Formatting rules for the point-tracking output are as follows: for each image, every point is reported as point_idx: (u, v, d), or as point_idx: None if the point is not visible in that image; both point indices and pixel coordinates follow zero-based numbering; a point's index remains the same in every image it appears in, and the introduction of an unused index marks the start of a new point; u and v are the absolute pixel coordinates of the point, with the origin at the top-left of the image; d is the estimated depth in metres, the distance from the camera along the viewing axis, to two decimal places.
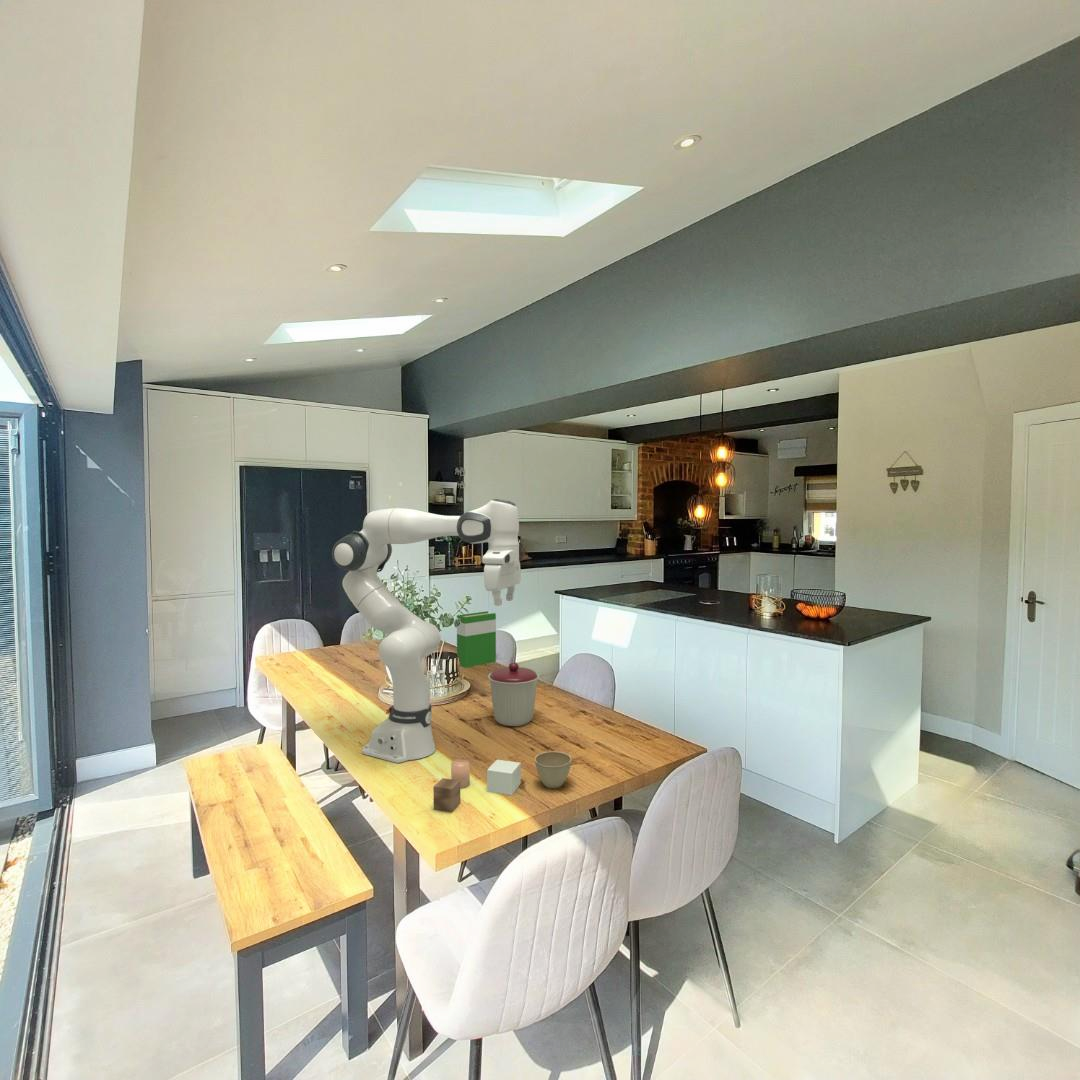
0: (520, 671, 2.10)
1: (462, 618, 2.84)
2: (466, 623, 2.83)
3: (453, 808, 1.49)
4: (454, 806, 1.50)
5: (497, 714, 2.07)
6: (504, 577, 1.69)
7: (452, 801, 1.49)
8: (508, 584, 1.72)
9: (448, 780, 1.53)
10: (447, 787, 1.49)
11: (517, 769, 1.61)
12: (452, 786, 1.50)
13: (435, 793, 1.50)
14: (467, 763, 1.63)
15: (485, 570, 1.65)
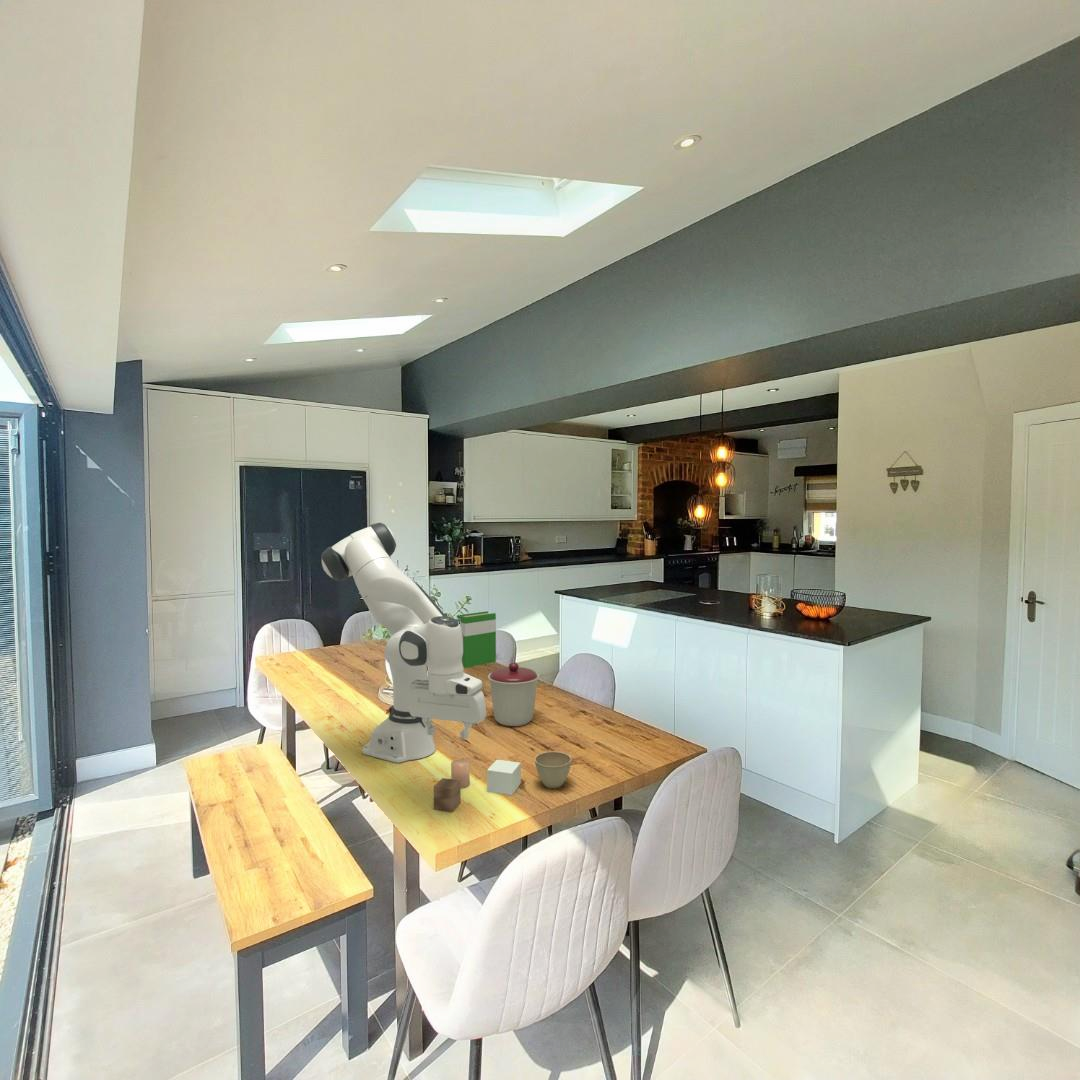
0: (520, 671, 2.10)
1: (462, 618, 2.84)
2: (466, 623, 2.83)
3: (453, 808, 1.49)
4: (454, 806, 1.50)
5: (497, 714, 2.07)
6: None
7: (452, 801, 1.49)
8: None
9: (448, 780, 1.53)
10: (447, 787, 1.49)
11: (517, 769, 1.61)
12: (452, 786, 1.50)
13: (435, 793, 1.50)
14: (467, 763, 1.63)
15: (477, 701, 1.46)
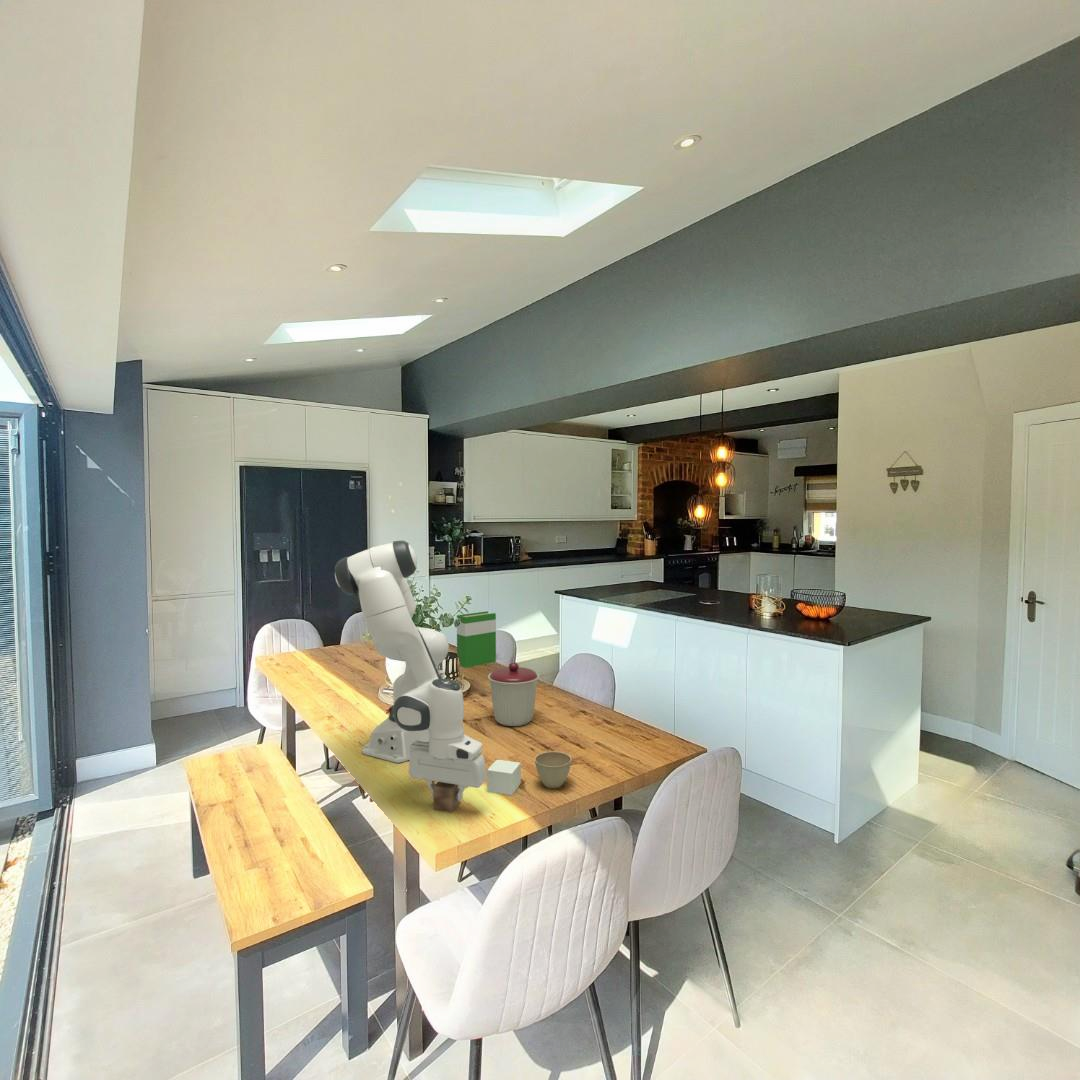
0: (520, 671, 2.10)
1: (462, 618, 2.84)
2: (466, 623, 2.83)
3: (453, 808, 1.49)
4: (454, 805, 1.50)
5: (497, 714, 2.07)
6: None
7: (452, 801, 1.49)
8: None
9: None
10: (447, 787, 1.49)
11: (517, 769, 1.61)
12: (452, 785, 1.50)
13: (435, 793, 1.50)
14: None
15: (478, 766, 1.46)
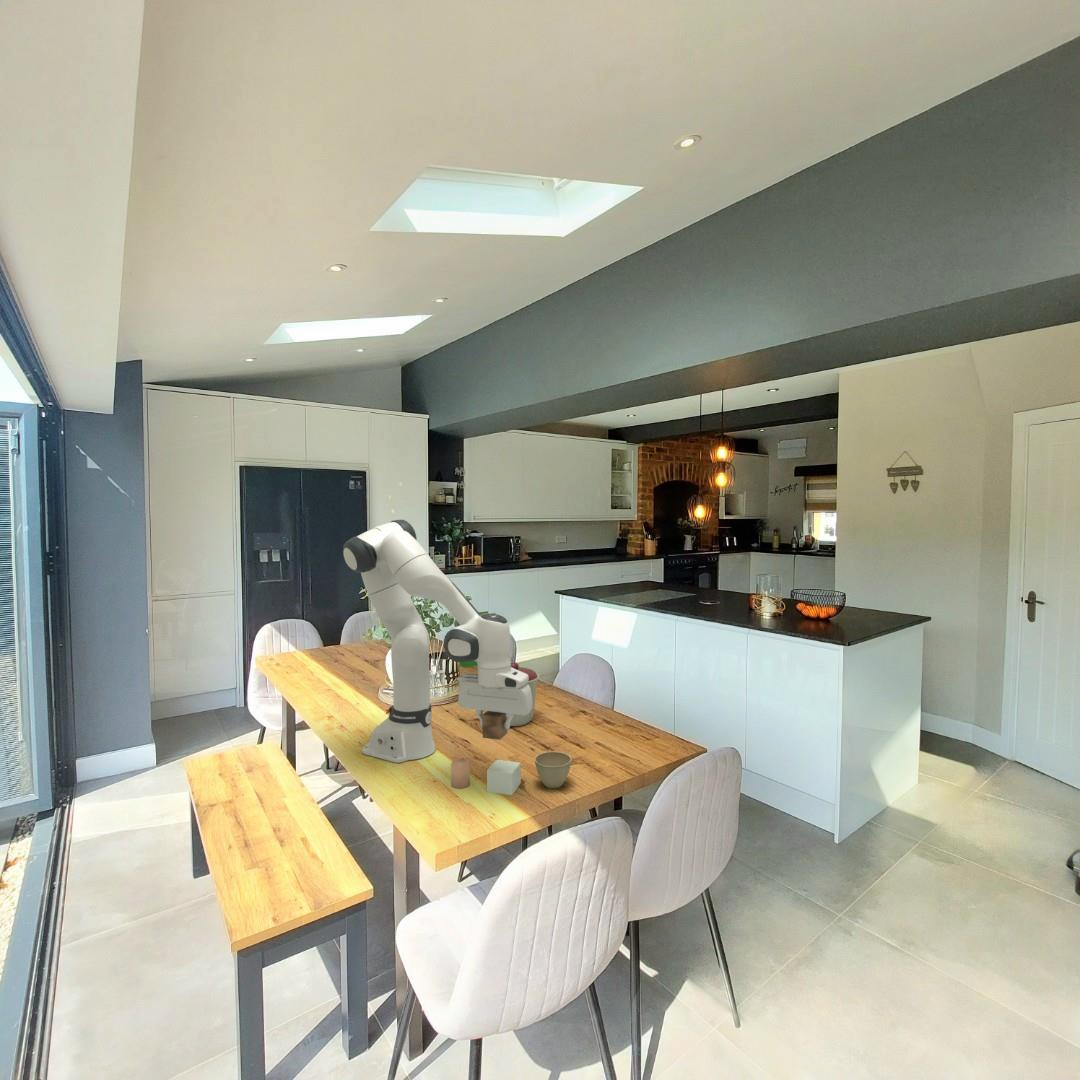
0: None
1: None
2: None
3: (501, 735, 1.57)
4: (502, 733, 1.57)
5: None
6: None
7: (500, 729, 1.56)
8: None
9: None
10: (495, 715, 1.57)
11: (517, 769, 1.61)
12: (500, 715, 1.57)
13: (484, 721, 1.57)
14: (467, 763, 1.63)
15: (525, 694, 1.54)
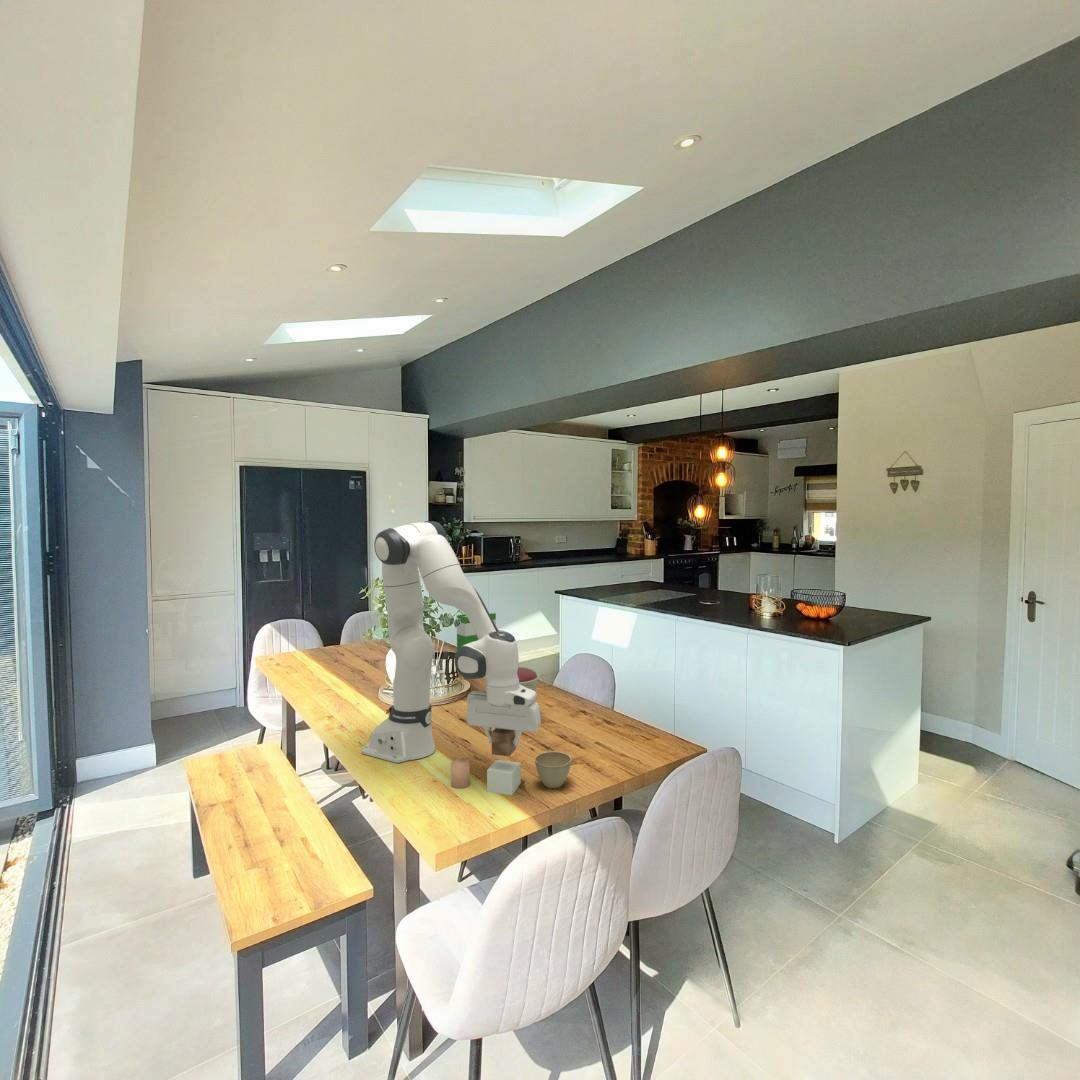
0: (520, 671, 2.10)
1: (462, 618, 2.84)
2: (466, 623, 2.83)
3: (510, 752, 1.59)
4: (511, 750, 1.59)
5: None
6: None
7: (509, 745, 1.58)
8: None
9: None
10: (504, 732, 1.59)
11: (517, 769, 1.61)
12: (509, 731, 1.59)
13: (493, 738, 1.59)
14: (467, 763, 1.63)
15: (534, 711, 1.56)
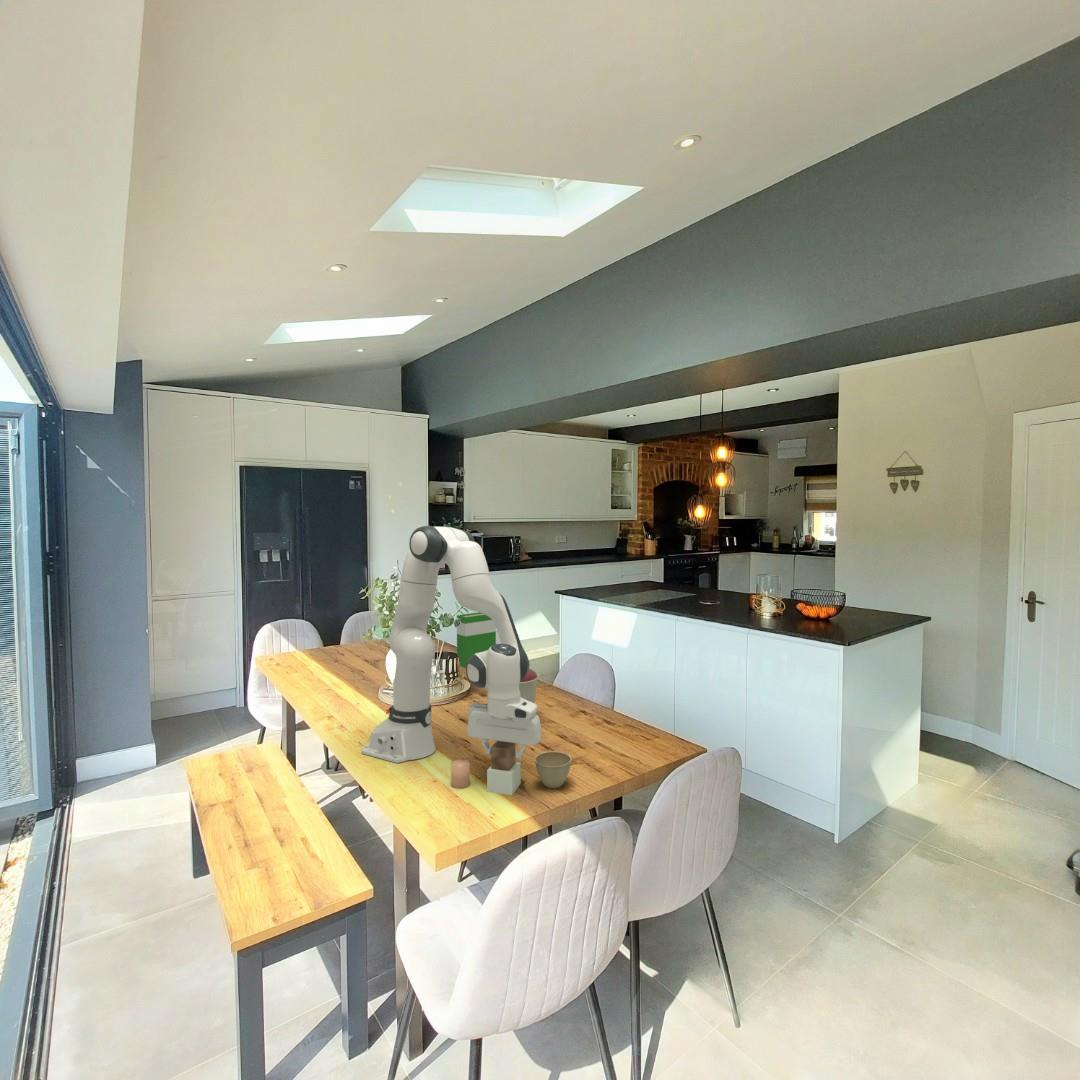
0: None
1: (462, 618, 2.84)
2: (466, 623, 2.83)
3: (510, 767, 1.59)
4: (511, 765, 1.60)
5: None
6: None
7: (509, 760, 1.59)
8: None
9: (504, 742, 1.63)
10: (504, 747, 1.59)
11: (517, 769, 1.61)
12: (509, 746, 1.60)
13: (493, 753, 1.60)
14: (467, 763, 1.63)
15: (535, 724, 1.56)
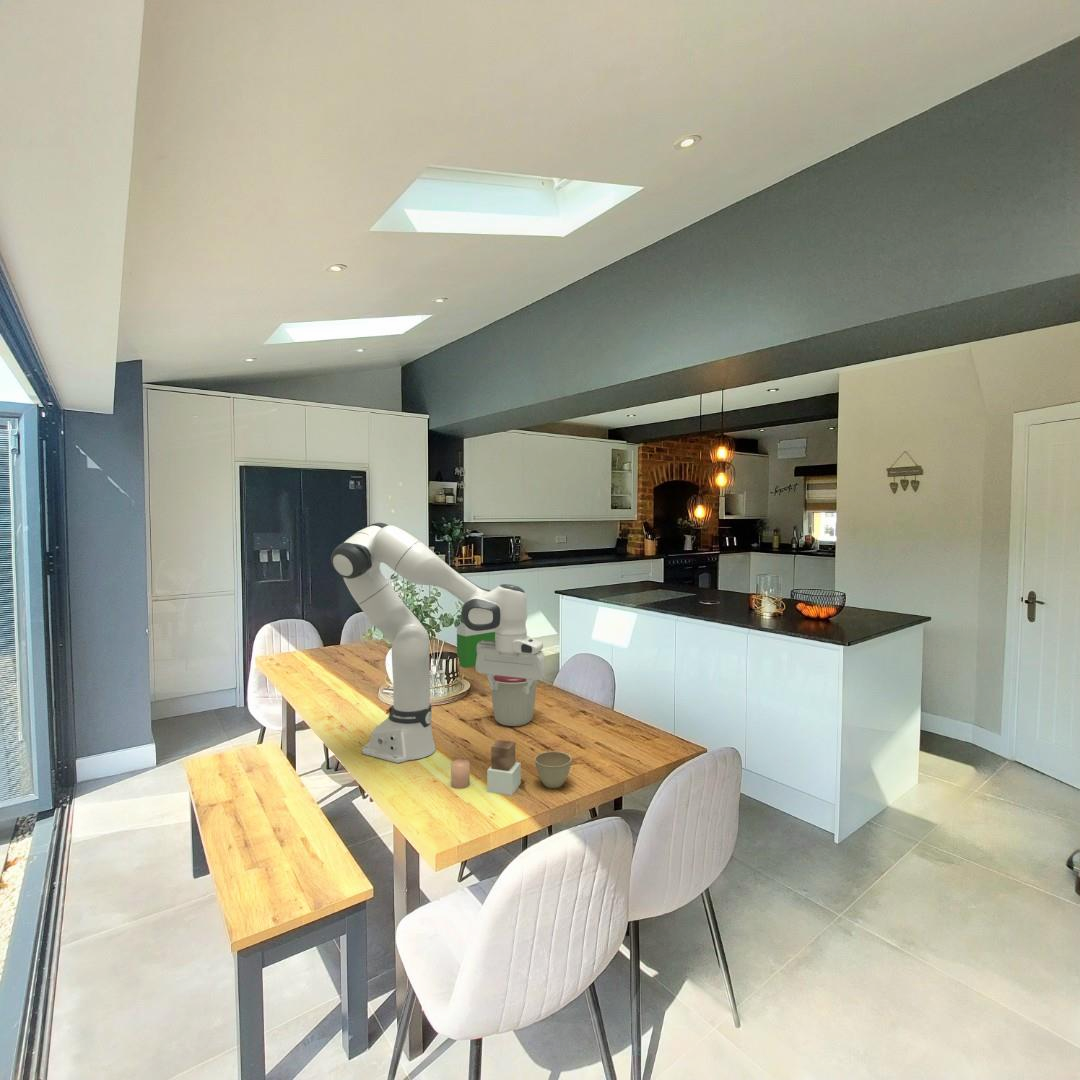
0: None
1: None
2: None
3: (510, 767, 1.59)
4: (510, 765, 1.60)
5: (497, 714, 2.07)
6: None
7: (509, 760, 1.59)
8: None
9: (504, 742, 1.63)
10: (504, 747, 1.59)
11: (517, 769, 1.61)
12: (509, 746, 1.60)
13: (493, 753, 1.60)
14: (467, 763, 1.63)
15: (540, 660, 1.63)
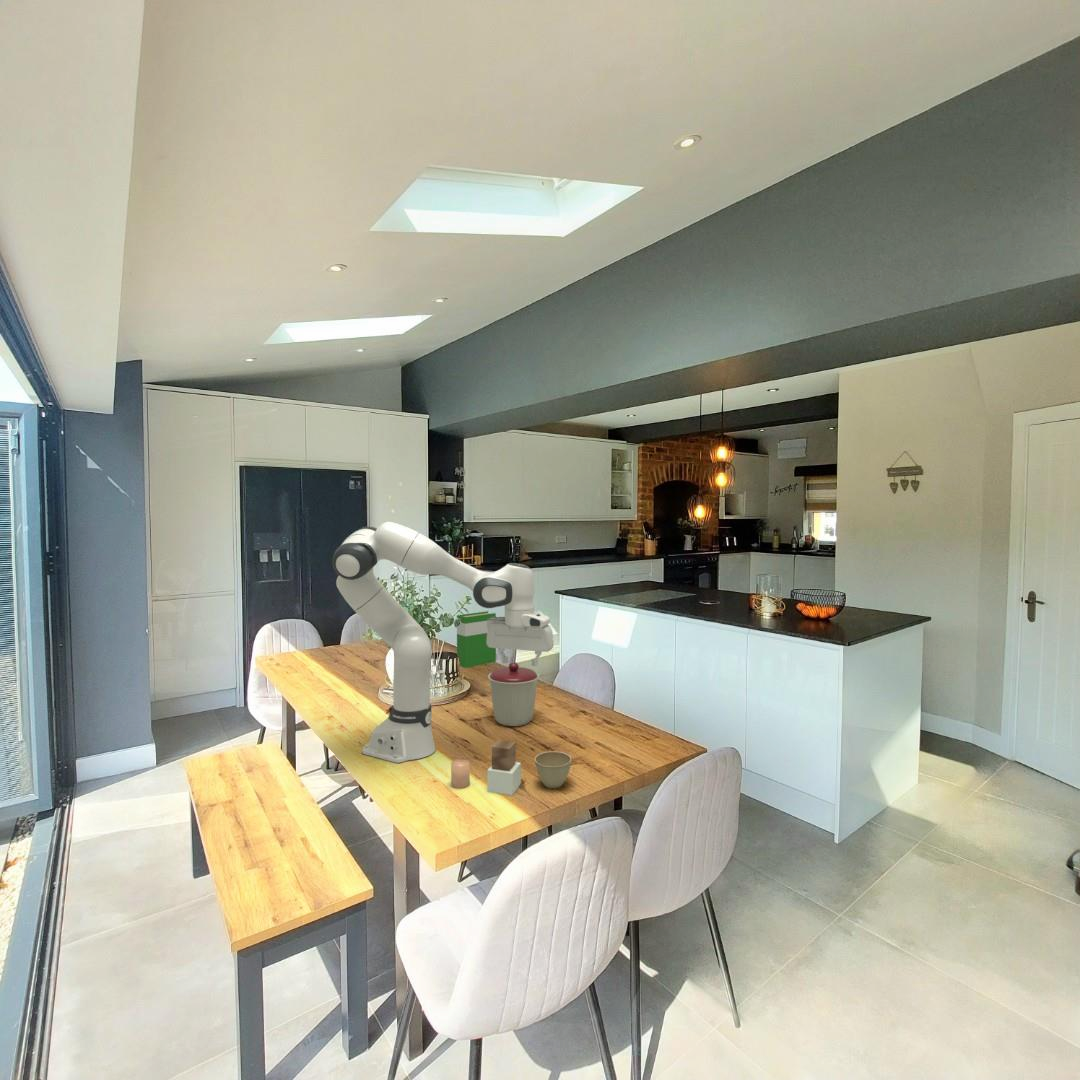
0: (520, 671, 2.10)
1: (462, 618, 2.84)
2: (466, 623, 2.83)
3: (510, 767, 1.59)
4: (511, 765, 1.60)
5: (497, 714, 2.07)
6: None
7: (510, 760, 1.59)
8: None
9: (504, 742, 1.63)
10: (505, 747, 1.59)
11: (517, 769, 1.61)
12: (509, 746, 1.60)
13: (493, 753, 1.60)
14: (467, 763, 1.63)
15: (548, 632, 1.73)
